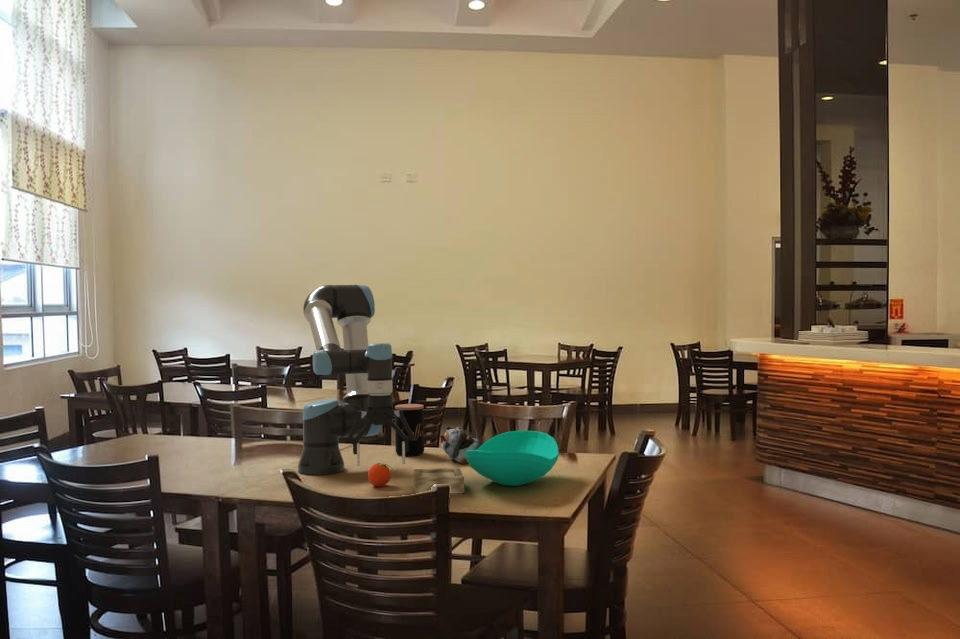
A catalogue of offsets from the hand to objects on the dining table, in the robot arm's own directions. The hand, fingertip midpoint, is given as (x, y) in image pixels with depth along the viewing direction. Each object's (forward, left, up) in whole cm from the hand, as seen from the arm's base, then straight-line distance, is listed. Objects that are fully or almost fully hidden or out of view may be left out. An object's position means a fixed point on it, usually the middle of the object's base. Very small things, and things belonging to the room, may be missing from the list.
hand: (381, 464), depth 240 cm
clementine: (0, 0, -7) cm, 7 cm away
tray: (+17, -7, -7) cm, 19 cm away
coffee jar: (+10, +52, -7) cm, 54 cm away
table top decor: (+40, -3, -7) cm, 41 cm away
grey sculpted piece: (+28, +35, -7) cm, 46 cm away
